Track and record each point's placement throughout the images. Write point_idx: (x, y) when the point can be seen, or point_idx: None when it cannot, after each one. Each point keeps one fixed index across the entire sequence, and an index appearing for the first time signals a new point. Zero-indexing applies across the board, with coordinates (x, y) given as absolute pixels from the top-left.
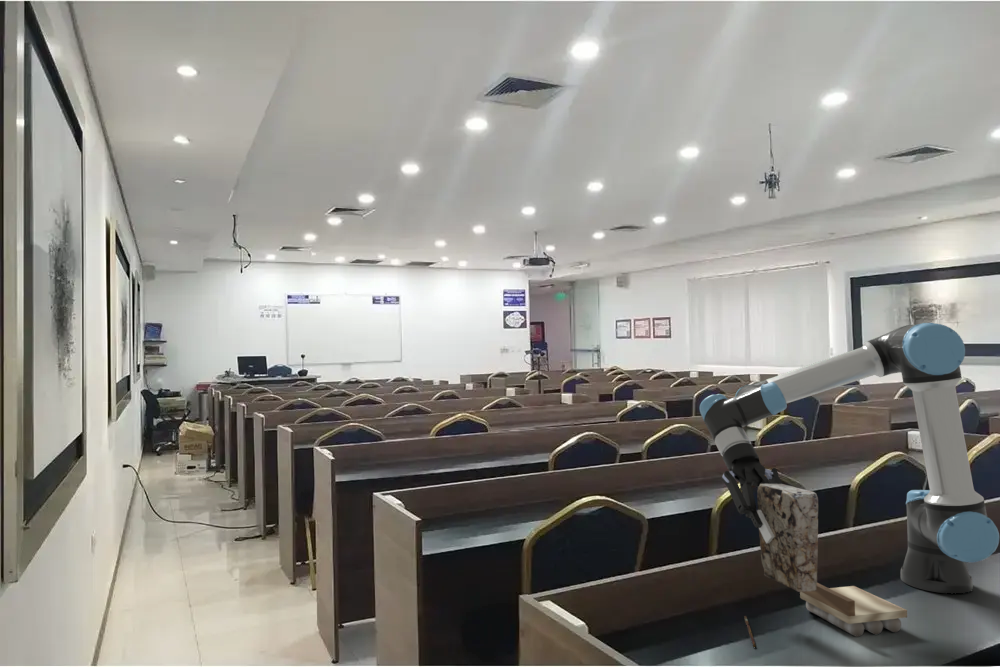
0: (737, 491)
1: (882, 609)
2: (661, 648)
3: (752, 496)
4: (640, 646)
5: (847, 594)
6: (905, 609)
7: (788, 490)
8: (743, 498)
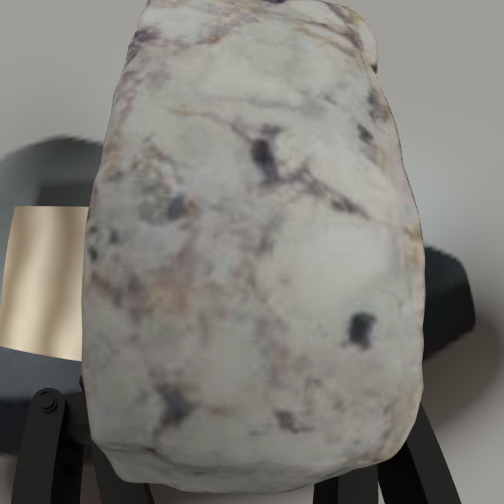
0: (446, 487)
1: (45, 219)
2: (436, 278)
3: (350, 474)
4: (454, 291)
5: (40, 310)
6: (15, 209)
7: (331, 35)
8: (414, 446)
